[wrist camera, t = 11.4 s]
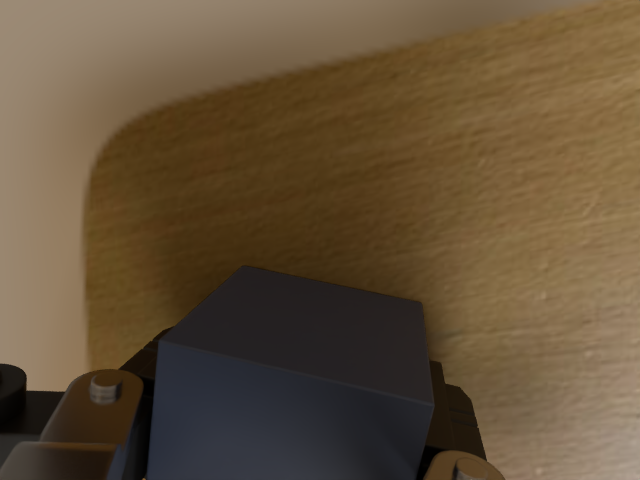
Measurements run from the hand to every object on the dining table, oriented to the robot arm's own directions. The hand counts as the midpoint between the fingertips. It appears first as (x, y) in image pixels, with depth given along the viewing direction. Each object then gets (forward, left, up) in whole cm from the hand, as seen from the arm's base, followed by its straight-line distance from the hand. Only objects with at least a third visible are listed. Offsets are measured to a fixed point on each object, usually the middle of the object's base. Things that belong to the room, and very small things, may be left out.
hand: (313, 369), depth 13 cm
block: (0, 0, 0) cm, 0 cm away
